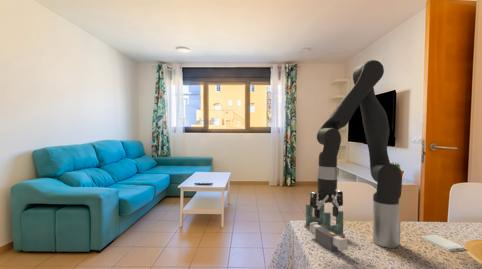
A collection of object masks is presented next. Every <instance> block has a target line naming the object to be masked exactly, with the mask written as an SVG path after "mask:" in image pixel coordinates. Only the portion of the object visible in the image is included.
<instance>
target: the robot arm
mask: <svg viewBox="0 0 482 269" xmlns="http://www.w3.org/2000/svg"><path fill="white" fill-rule="evenodd" d="M384 73H385V67H384V66H383V64H382V63H381V62H380V61H379V60H375V59H374V60H373V59H371V60H368V61H366V62H364V63H362V64H360V65H358V66H357V67H355V68H354V70H353V73H352V82H353V84H354V86H353V87H352V88H351V89H350V91H349V92H348V93H347V94H346V95H345V96H344V97H343V98H342V99H341V100H340V102H339V103H338V104H337V106H336V107H335V109H334V111H333V112H332V114H331V115H330V116H329V118H328V119H327V120H326V121H325V122H324V124H323V125H322V126H321V127H320V128H319V130H317V134H316V141H317V142H318V143H319V144H320V145H323V148H322V151H320V152H319V155H318V168H317V184H316V185H317V192H314V191H311V192H310V200H309V201H310V202H309V204H310V206H311V207H313V209H314V210H313V211H314V212H313V216H315V218H317V219H320V207H321V206H322V205H323V204H324V205H325V204H327V203H329V204H330V203H331V204H332V213H331V214H332V216H333V217H335V218H336V217H337V215H338V211H339V208H340V207H342V206H344V195H343V194H344V193H343V192H344V191H341V190H338V154H339V151H340V148H341V143H342V137H341V132H340V129H343V128H344V127H346V126H347V125H348V123H349V122H350V120H351V119H352V117H353V115H354V114H355V112H356V110H357V109H358V108H359V107H360V113H361V118H362V125H363V129H364V130H363V131H364V134H365V140H366V144H367V148H368V154H369V155H368V156H369V168H370V175H371V177H372V179H373V180H374V181H375V182H376V191H375V192H374V193H373V196H372V202H373V203H372V204H373V205H372V208H373V209H372V213H373V214H372V215H373V216H372V242H373V243H374V244H376V245H377V246H379V247H384V248H389V249H396V248H398V247H399V246H400V245H401V221H400V198H401V196H402V190H403V189H402V186H403V174H402V171H401V169H400V167H398V166H397V165H395V164H393V163H391V162H390V157H389V153H388V143H389V139H390V125H389V119H388V115H387V111H386V110H385V109H384V107H383V106H382V104H381V103H380V101H379V100H378V98H377V96H376V94H375V93H376V92H375V89H374V87H375V86H376V85H377V83H378V82H379V81H380V80H381V79H382V78H383V76H384Z"/></svg>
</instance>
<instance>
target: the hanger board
mask: <svg viewBox="0 0 482 269" xmlns="http://www.w3.org/2000/svg"><path fill="white" fill-rule="evenodd" d="M313 209H314V208H313V207H311V206H310V203H308V204H305V224H304V228H306V229H308V230H309V231H310V223H314V222H317V223H318V225H320V226H321V227H324V228H326V229H328V230H330V231H331V232H333V233H335V234H337V235H339V236H340V237H341V238H346V237H345V236H346V234H345V233H344V210H341V209H340V210H339V209H338V215H337V217H335V224H332V223H331V220H332V219H331V217H332V216H331V214H332V213H331V211H325V203H324V204H323V205H322V206H321V207H320V219H317V218H315V216H314V212H313V211H314V210H313Z"/></svg>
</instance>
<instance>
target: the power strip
mask: <svg viewBox="0 0 482 269" xmlns="http://www.w3.org/2000/svg"><path fill="white" fill-rule="evenodd" d="M309 233H310V234H312V233H313V234H315V235H314V238H315V240H314V241H315V242H316V243H318V244H319V245H320V246H322V247H324V248H325V249H327V250H328V251H330V252H332V253H333V252H336V251H339V252H341V251H346V250H348V238H347V237H340V236H339V235H337V234H335V233H333V232H331V231H330V230H328V229H326V228H324V227H321V226H320V225H318V223H317V222H314V223H310V230H309Z"/></svg>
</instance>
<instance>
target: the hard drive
mask: <svg viewBox="0 0 482 269" xmlns="http://www.w3.org/2000/svg"><path fill="white" fill-rule="evenodd" d="M420 239H421V240H424V241H425V242H428V243H430V244H432V245H433V246H436V247H439V248H440V249H443V250H445V251H447V252H449V253H450V252H457V251H458V252H459V251H465V250H464V247H465V246H463V245H460V244H459V243H457V242H454V241H452V240H449V239H447V238H445V237H442V236H440V235H438V234H428V235H420Z"/></svg>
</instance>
